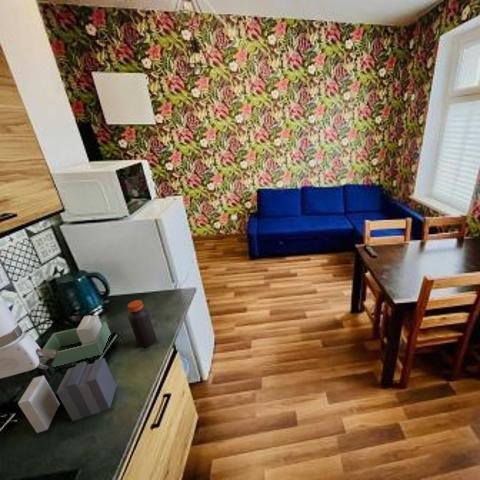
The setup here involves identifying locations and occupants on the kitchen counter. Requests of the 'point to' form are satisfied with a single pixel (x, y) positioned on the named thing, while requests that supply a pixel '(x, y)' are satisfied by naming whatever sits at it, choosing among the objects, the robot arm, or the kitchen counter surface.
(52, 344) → the crate
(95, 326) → the white books
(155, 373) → the kitchen counter surface
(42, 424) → the white book
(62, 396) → the grey books
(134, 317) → the bottle
